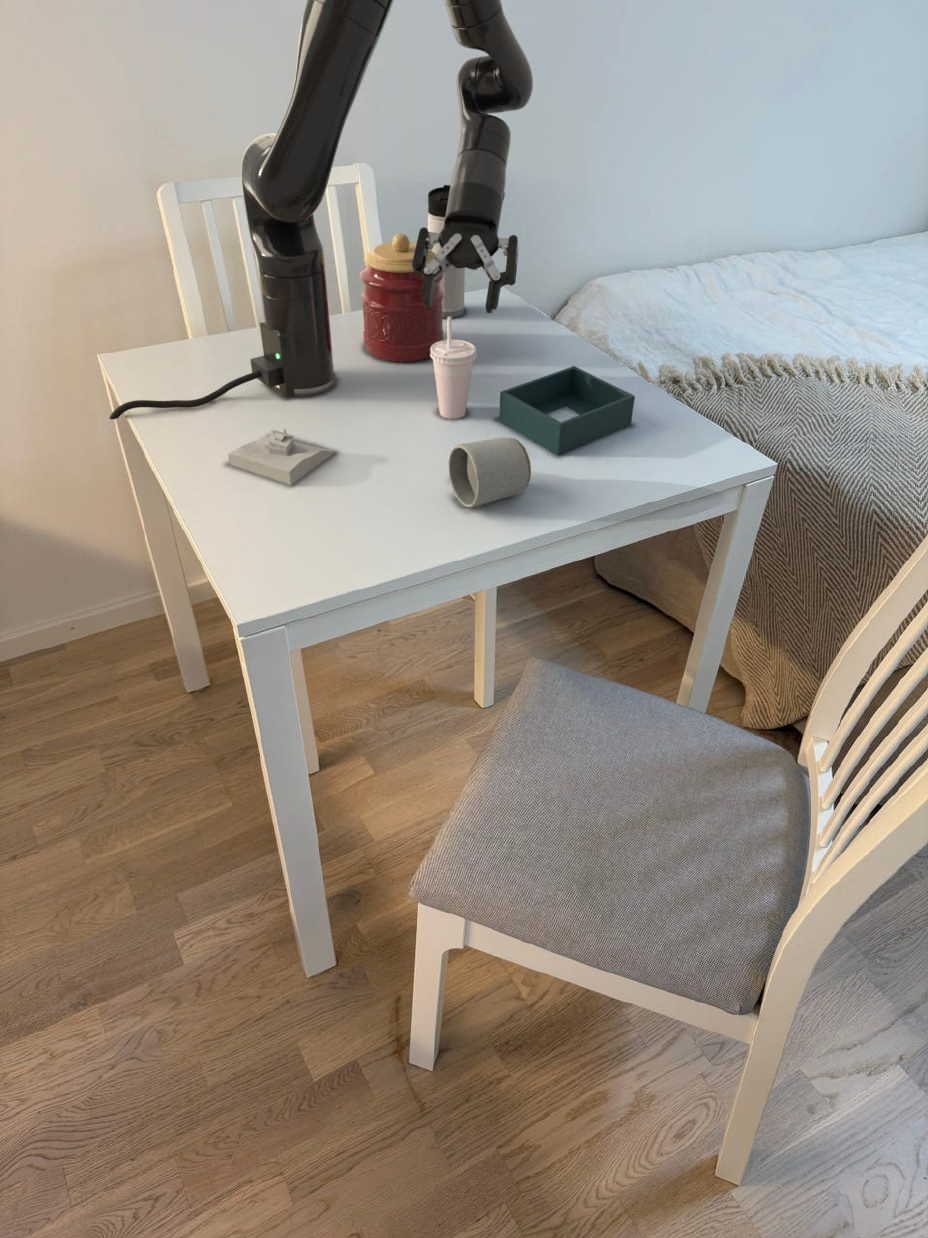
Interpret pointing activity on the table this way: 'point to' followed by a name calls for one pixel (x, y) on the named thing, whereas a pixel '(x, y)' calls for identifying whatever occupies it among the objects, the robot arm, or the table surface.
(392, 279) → the kitchen canister
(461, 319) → the table surface
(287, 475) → the miniature house
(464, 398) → the smoothie
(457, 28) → the robot arm
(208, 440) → the table surface
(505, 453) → the ceramic mug
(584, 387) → the bin
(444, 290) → the travel mug
